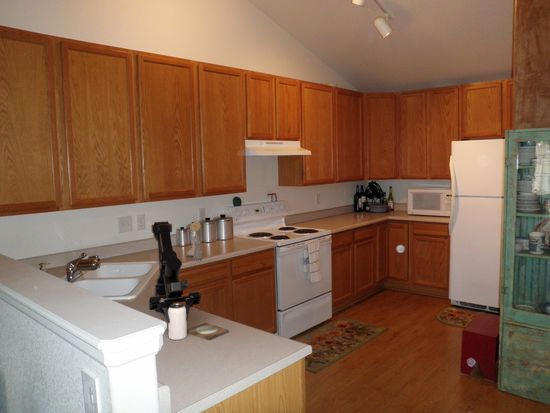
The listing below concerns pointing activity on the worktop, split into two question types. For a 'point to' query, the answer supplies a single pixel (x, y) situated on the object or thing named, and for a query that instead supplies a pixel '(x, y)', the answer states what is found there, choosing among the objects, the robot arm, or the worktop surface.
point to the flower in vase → (194, 237)
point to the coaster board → (207, 331)
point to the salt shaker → (197, 251)
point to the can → (177, 321)
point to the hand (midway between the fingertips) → (178, 321)
